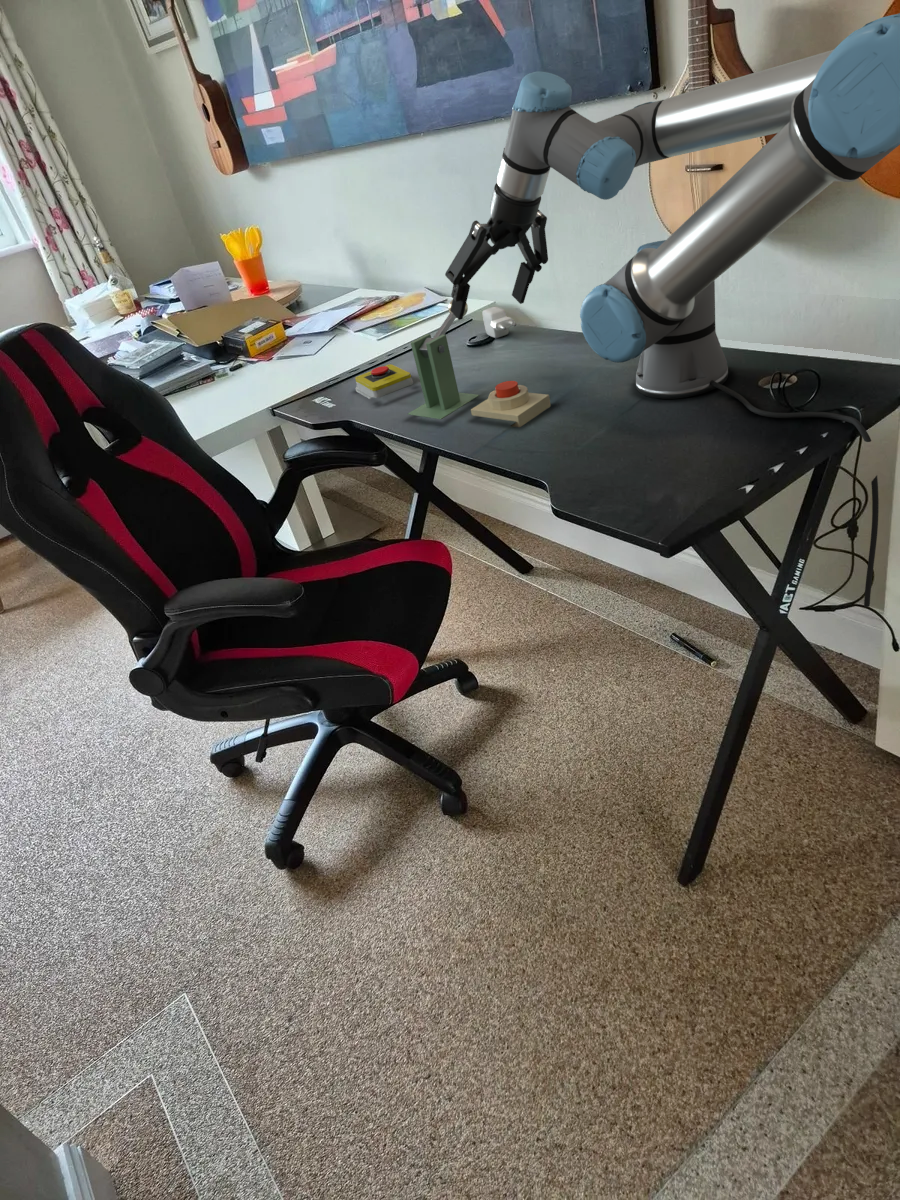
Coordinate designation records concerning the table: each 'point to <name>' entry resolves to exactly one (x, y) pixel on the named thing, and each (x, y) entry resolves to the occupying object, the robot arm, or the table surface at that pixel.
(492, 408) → the button console
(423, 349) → the lever switch
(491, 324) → the power adapter
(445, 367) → the switch bracket
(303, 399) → the table surface
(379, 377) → the emergency button
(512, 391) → the button
